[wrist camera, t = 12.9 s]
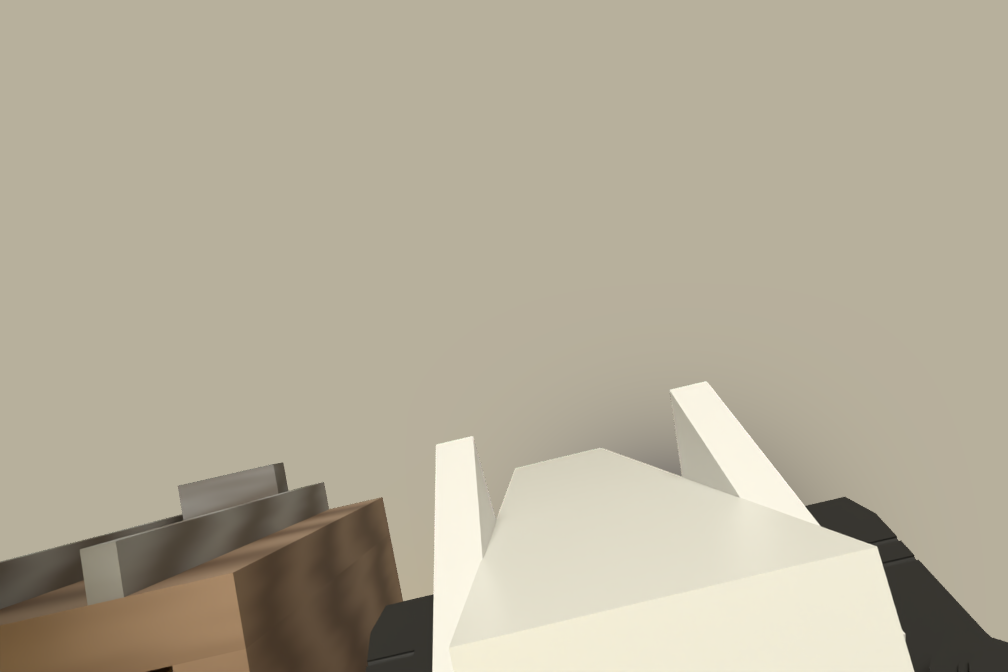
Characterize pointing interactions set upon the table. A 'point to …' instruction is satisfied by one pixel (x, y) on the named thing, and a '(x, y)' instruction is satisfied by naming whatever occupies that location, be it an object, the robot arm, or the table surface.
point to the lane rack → (208, 587)
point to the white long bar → (667, 581)
